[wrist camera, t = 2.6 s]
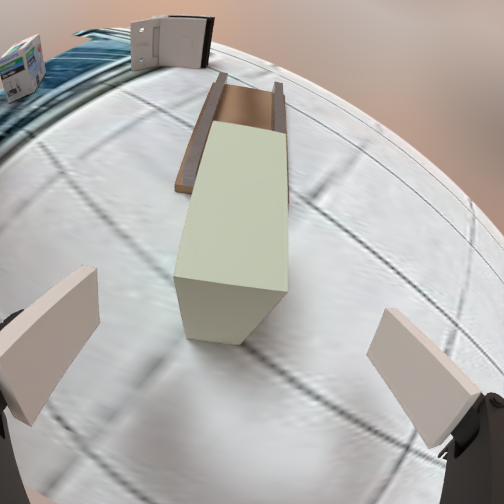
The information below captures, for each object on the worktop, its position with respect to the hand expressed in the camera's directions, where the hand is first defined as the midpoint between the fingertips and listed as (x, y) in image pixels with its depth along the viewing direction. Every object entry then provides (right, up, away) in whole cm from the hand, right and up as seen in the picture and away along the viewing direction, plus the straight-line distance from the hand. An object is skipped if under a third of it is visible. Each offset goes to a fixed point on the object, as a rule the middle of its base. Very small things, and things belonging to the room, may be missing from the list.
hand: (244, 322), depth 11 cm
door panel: (-2, 0, +11) cm, 11 cm away
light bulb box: (-45, +36, +21) cm, 62 cm away
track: (-1, +18, +20) cm, 27 cm away
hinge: (-15, +36, +28) cm, 48 cm away
